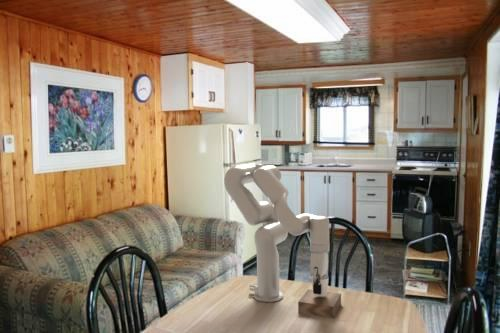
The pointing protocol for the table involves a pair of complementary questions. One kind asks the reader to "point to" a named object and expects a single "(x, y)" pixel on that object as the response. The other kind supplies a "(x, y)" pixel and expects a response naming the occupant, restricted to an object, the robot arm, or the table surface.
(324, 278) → the shot glass
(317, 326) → the table surface
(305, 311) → the walnut block
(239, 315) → the table surface
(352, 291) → the table surface
